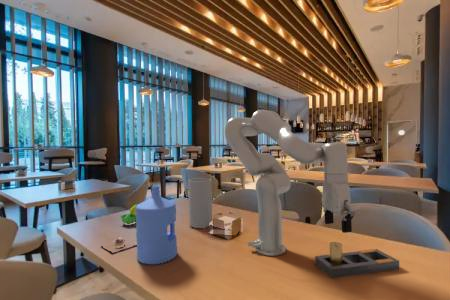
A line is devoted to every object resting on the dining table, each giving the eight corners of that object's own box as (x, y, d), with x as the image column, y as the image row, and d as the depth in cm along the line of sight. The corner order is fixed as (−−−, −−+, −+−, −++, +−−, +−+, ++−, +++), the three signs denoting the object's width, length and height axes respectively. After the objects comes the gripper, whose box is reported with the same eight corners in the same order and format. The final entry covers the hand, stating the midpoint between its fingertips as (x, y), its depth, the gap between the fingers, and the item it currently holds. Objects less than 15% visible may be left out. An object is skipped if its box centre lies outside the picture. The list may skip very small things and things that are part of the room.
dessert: (100, 248, 114) (99, 237, 114) (126, 240, 123) (125, 230, 123) (111, 255, 106) (111, 244, 106) (138, 246, 115) (138, 236, 115)
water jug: (140, 269, 93) (138, 192, 92) (134, 253, 107) (132, 185, 106) (182, 259, 100) (180, 187, 99) (171, 245, 114) (169, 182, 113)
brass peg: (334, 273, 88) (334, 246, 87) (327, 267, 92) (327, 242, 91) (344, 271, 88) (344, 245, 88) (337, 266, 92) (337, 241, 92)
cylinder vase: (216, 223, 143) (215, 178, 142) (203, 230, 132) (202, 182, 131) (199, 220, 150) (198, 177, 149) (184, 226, 139) (183, 180, 138)
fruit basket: (137, 219, 154) (136, 200, 153) (146, 222, 148) (146, 202, 148) (119, 225, 144) (119, 205, 144) (129, 227, 139) (128, 207, 139)
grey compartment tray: (331, 278, 84) (331, 269, 84) (315, 264, 94) (315, 255, 94) (399, 269, 89) (399, 260, 89) (376, 256, 99) (376, 248, 99)
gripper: (312, 176, 97) (314, 221, 97) (342, 182, 80) (344, 237, 80) (330, 175, 98) (332, 219, 98) (363, 180, 81) (365, 234, 81)
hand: (337, 227), depth 89 cm, fingers open, 9 cm apart
